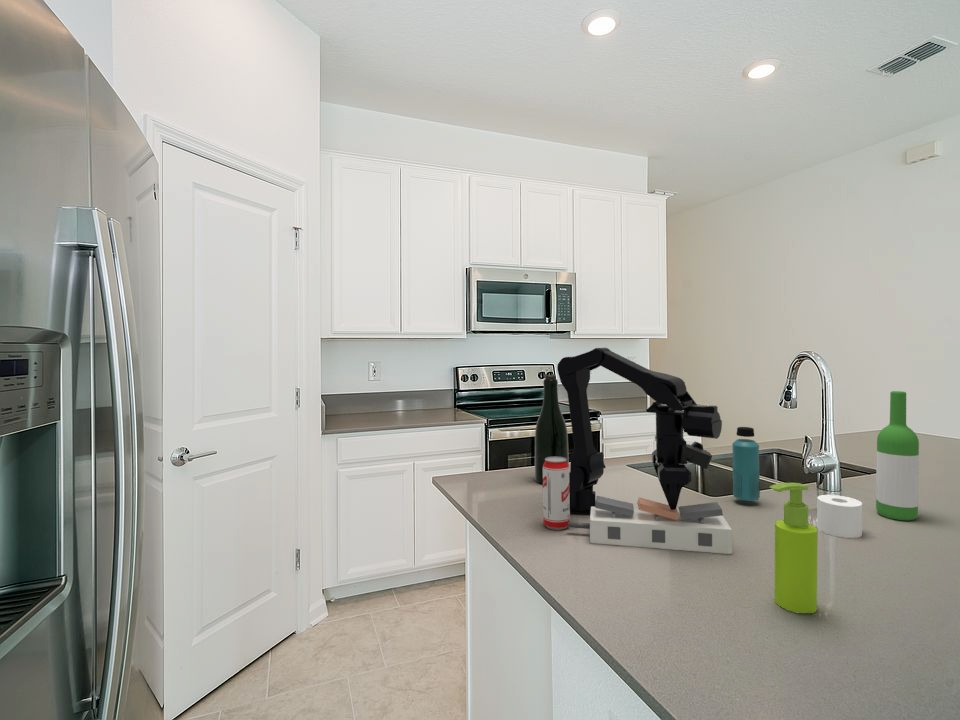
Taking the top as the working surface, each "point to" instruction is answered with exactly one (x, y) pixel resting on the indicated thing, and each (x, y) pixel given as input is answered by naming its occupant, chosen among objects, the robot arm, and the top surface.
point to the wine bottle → (897, 465)
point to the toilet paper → (839, 516)
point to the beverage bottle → (745, 466)
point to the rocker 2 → (657, 508)
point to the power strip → (658, 531)
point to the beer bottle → (550, 429)
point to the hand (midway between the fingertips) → (670, 502)
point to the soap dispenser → (795, 554)
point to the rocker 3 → (700, 511)
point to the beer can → (556, 493)
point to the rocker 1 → (614, 506)
